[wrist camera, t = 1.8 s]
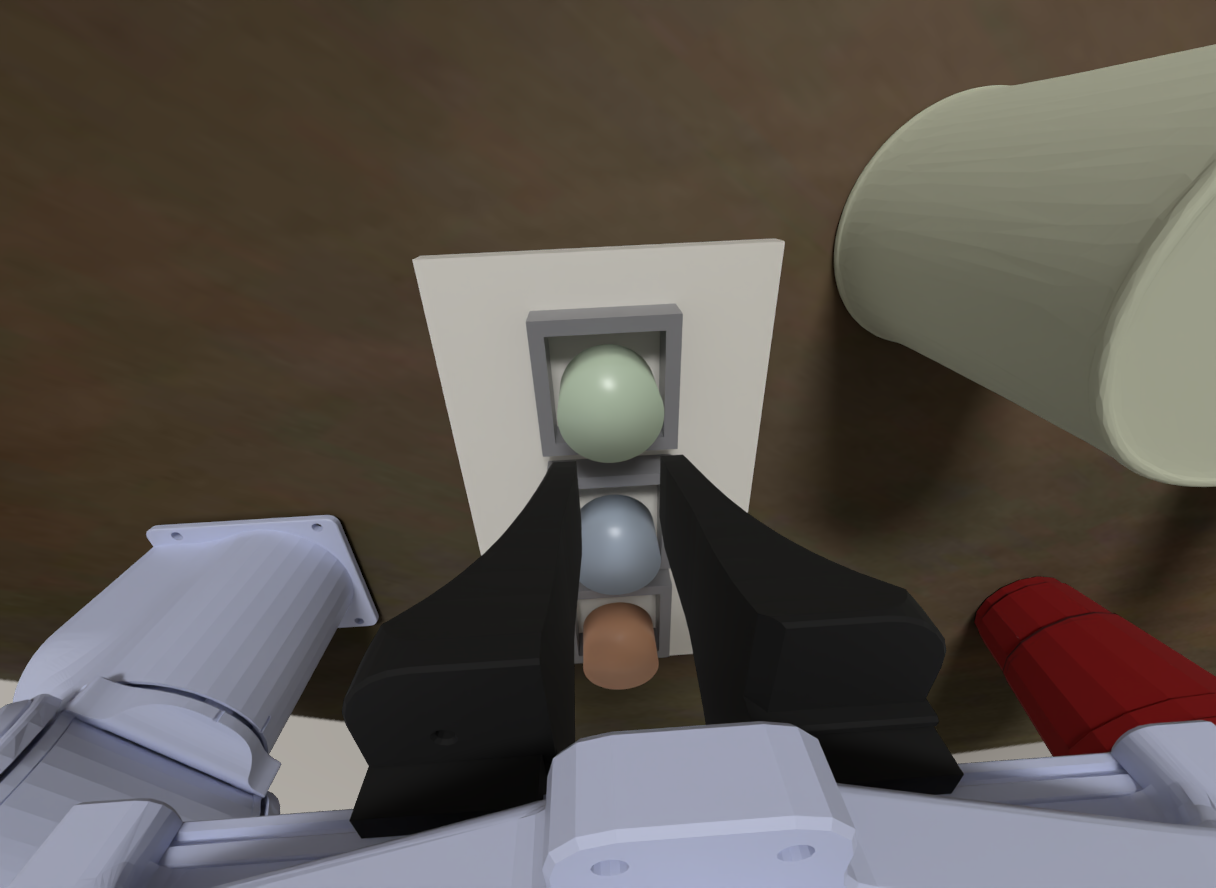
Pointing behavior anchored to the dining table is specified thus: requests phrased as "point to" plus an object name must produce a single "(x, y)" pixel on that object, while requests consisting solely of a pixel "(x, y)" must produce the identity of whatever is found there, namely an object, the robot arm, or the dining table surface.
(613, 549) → the slate button
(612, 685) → the peach button
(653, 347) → the console
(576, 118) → the dining table surface
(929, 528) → the dining table surface
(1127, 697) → the plastic cup
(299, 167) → the dining table surface
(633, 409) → the sage button
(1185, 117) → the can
